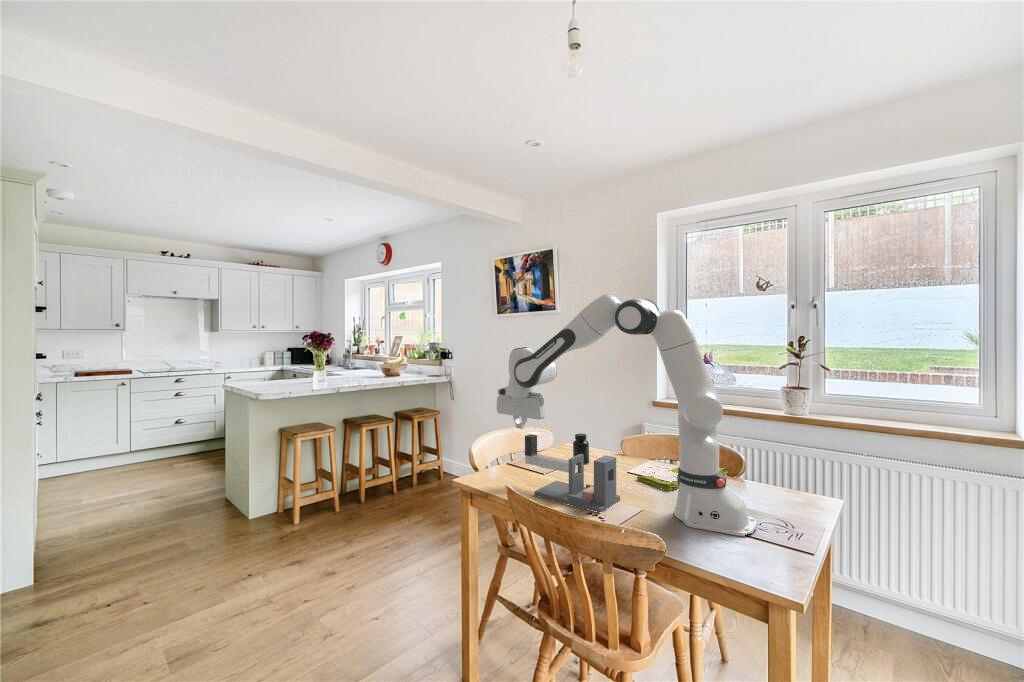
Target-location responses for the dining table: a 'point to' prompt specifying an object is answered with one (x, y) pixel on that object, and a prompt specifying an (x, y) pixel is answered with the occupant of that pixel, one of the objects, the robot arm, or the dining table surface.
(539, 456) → the shaft
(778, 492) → the dining table surface
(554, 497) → the bracket
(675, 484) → the dish towel
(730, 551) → the dining table surface
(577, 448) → the supplement bottle
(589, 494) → the block
